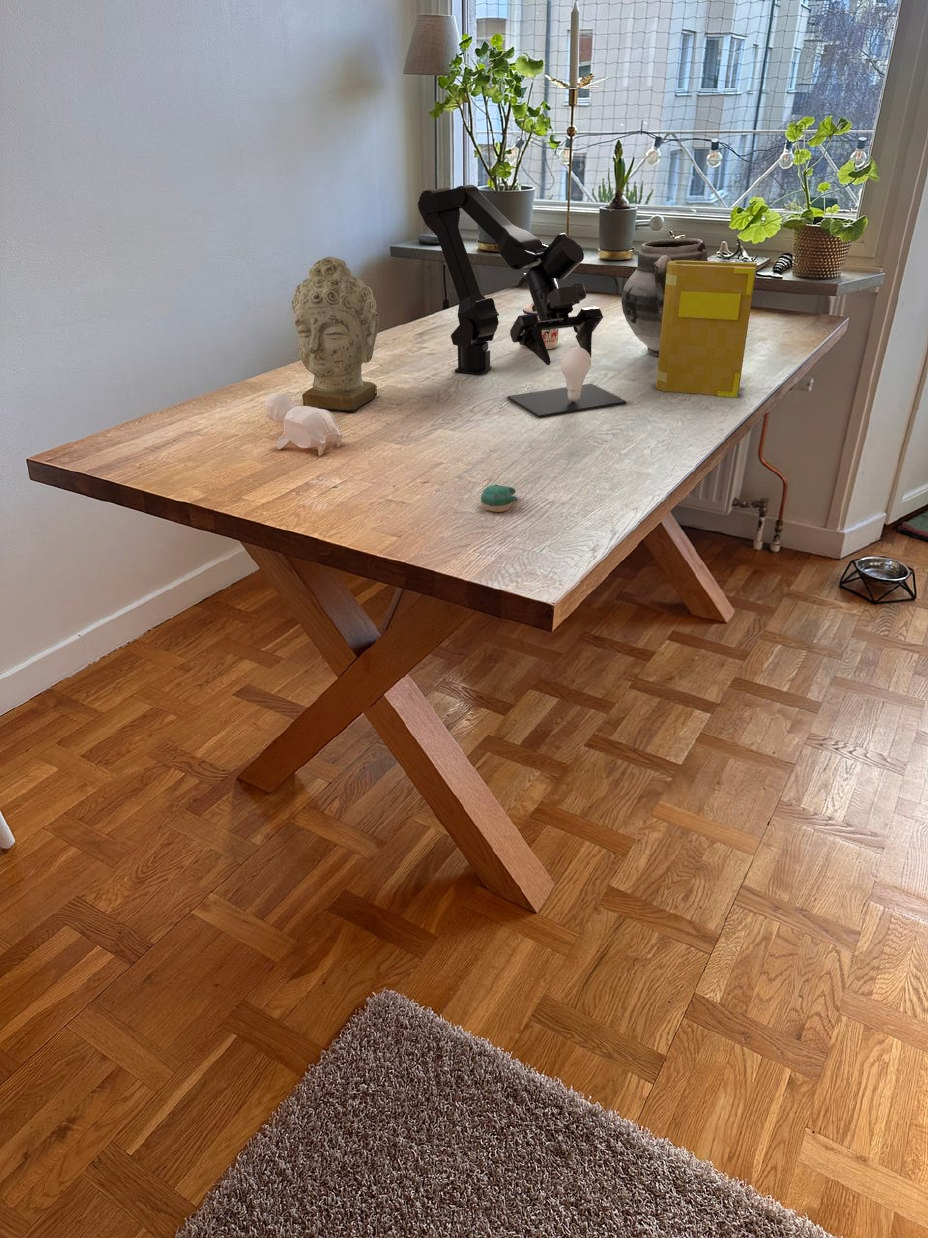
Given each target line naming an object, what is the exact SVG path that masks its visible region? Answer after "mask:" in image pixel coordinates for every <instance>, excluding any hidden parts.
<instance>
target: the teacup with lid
mask: <svg viewBox="0 0 928 1238" xmlns="http://www.w3.org/2000/svg"><path fill="white" fill-rule="evenodd" d="M533 305H534V303H533V302H532V303H530V304H527V305H525V306H524V307H523V309H522V313H523V315H528V314H535V315H537V318H538V320H539V317H538V314H537V311H536V312H533V310H532V306H533ZM542 338H543V340H544V343H545V346H546V348H547V350H553V349H555V348H557V347H558V345H559V329H551V330H542ZM525 348H526V349H528V348H527V347H525Z"/></svg>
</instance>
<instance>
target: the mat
mask: <svg viewBox="0 0 928 1238" xmlns="http://www.w3.org/2000/svg"><path fill="white" fill-rule="evenodd" d="M507 399H508V400H509V401H511V402H513V403H514V404H516V405H517V406H519V407H520V408H522V409H524V410H526V411H527V412H529V413H530V414H532V415H533V416H536V417H537V418H545V417H551V416H558V415H563V414H570V413H576V412H582V411H589V410H595V409H601V408H607V407H613V406H619V405H626V404H627V400H625V399H623V398H621V397H619V396H617V395H615V394H612V393H610V392H609V391H607V390H605V389H603V388H600V387H599V386H596V385H595V384H593V383H586V384H583V386H582V389H581V395H580V399H579V400H578V401H576V402H571V401H570V400H568V390H567V386H566V387H565V386H564V387H560V388H552V389H546V390H539V391H533V392H526V393H519V394H512V395H507Z"/></svg>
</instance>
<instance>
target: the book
mask: <svg viewBox="0 0 928 1238" xmlns="http://www.w3.org/2000/svg"><path fill="white" fill-rule="evenodd" d="M757 266H758V262H749V261H748V262H747V261H736V262H735V261H712V260H711V261H709V260H708V261H687V260H676V261H669V262H668V263H667V274H666V285H665V295H664V306H663V316H662V327H661V338H660V348H659V356H658V360H657V371H656V382H655V388H656V389H657V390H658V391H663V392H671V393H682V394H683V393H684V394H694V395H697V394H698V395H708V396H709V395H710V396H717V397H723V398H724V397H725V398H738V394H739V390H740V385H741V377H742V373H743V372H742V371H743V365H744V358H745V357H744V356H745V351H746V343H747V335H748V329H749V322H750V316H751V307H752V301H753V295H754V288H755V282H756V281H755V279H756V274H757Z"/></svg>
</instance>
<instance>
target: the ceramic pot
mask: <svg viewBox="0 0 928 1238" xmlns="http://www.w3.org/2000/svg"><path fill="white" fill-rule="evenodd" d="M676 260H687V261H709V259H708V249H707V247H706V245H705V241H704V240H702V239H700V238H694V237H692V238H691V237H690V238H685V237H684V238H683V237H682V238H665V239H653V240H649V241H646V242H643V243H642V244H641V246H640V248H639V251H638V254H637V266H636V269H635V271H633V273H632V274H631V275H630V276H629V278H628V279H627V281H626V283H625V285H624V286H623V289H622V293H621V301H620V302H621V303H620V304H621V309H622V313H623V315H624V318H625V320H626V322H627V324H628V326H629V328H630V329H631V330H632V332H633V334H634V336H635V337H636V338H637V339H638V340H639V341H640V342H641V343H643V344H644V345H645V346H646V347H647V352H648V354H649V355H650V356H655V357H659V348H660V338H661V327H662V316H663V306H664V295H665V285H666V274H667V263H668V262H669V261H676Z"/></svg>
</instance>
